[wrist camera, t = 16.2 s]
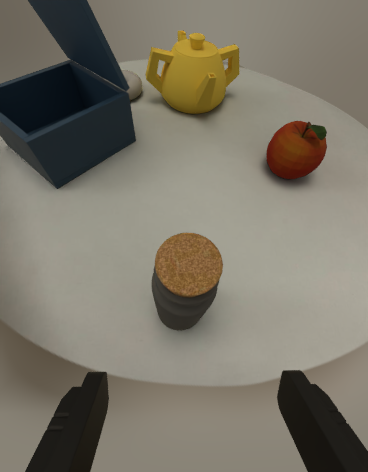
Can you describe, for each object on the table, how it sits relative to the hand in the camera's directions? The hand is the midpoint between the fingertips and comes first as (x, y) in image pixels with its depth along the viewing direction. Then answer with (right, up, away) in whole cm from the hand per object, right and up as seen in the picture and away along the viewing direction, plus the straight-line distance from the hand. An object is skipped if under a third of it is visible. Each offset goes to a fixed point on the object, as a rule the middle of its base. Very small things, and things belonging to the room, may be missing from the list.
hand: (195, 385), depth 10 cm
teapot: (+1, +40, +43) cm, 59 cm away
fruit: (+19, +20, +32) cm, 43 cm away
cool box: (-22, +25, +32) cm, 47 cm away
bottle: (-1, -3, +18) cm, 18 cm away
